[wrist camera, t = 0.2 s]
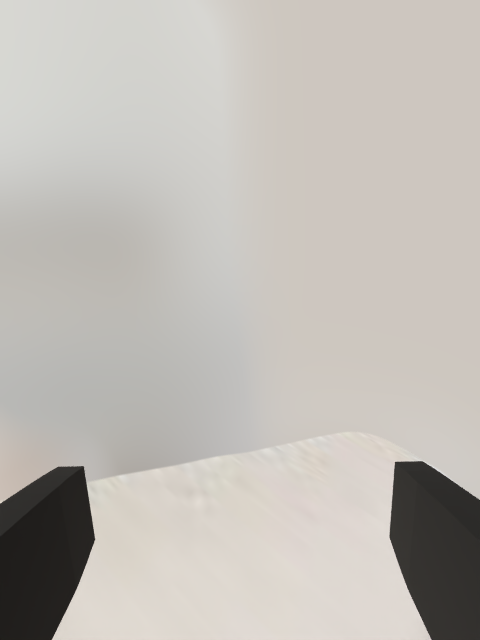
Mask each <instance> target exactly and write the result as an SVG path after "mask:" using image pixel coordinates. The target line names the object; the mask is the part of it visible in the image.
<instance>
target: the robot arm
mask: <svg viewBox="0 0 480 640" xmlns="http://www.w3.org/2000/svg"><path fill="white" fill-rule="evenodd" d="M390 540H391V543H392V546H393V549H394V552H395V555H396V558H397V560H398V563H399V566H400V569H401V572H402V574H403V577H404V580H405V583H406V585H407V588H408V590H409V592H410V595H411V597H412V599H413V601H414V603H415V605H416V608H417V610H418V612H419V614H420V616H421V618H422V620H423V622H424V625H425V627H426V629H427V631H428V633H429V635H430V637H431V639H432V640H480V500H479V499H477V498H476V497H475V496H473V495H472V494H470V493H469V492H467V491H466V490H465V489H463V488H462V487H460V486H459V485H457V484H456V483H454V482H453V481H451V480H450V479H449V478H447V477H446V476H444V475H443V474H441V473H440V472H438V471H437V470H435V469H434V468H432V467H431V466H429V465H427V464H426V463H424V462H422V461H417V462H395V469H394V483H393V497H392V510H391V524H390ZM94 541H95V536H94V529H93V523H92V516H91V510H90V504H89V497H88V491H87V484H86V478H85V471H84V467H83V466H79V467H78V466H77V467H57V468H55V469H54V470H52V471H50V472H48V473H47V474H45V475H43V476H42V477H40V478H39V479H37V480H36V481H34V482H33V483H31V484H30V485H28V486H26V487H25V488H23V489H22V490H20V491H19V492H17V493H16V494H14V495H13V496H11V497H10V498H8V499H7V500H5V501H4V502H2V503H1V504H0V640H52V638H53V636H54V634H55V632H56V630H57V628H58V626H59V624H60V622H61V620H62V618H63V616H64V614H65V612H66V610H67V608H68V606H69V604H70V602H71V600H72V598H73V595H74V593H75V591H76V589H77V587H78V584H79V582H80V579H81V576H82V574H83V571H84V569H85V566H86V563H87V561H88V558H89V555H90V552H91V549H92V547H93V544H94Z"/></svg>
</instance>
